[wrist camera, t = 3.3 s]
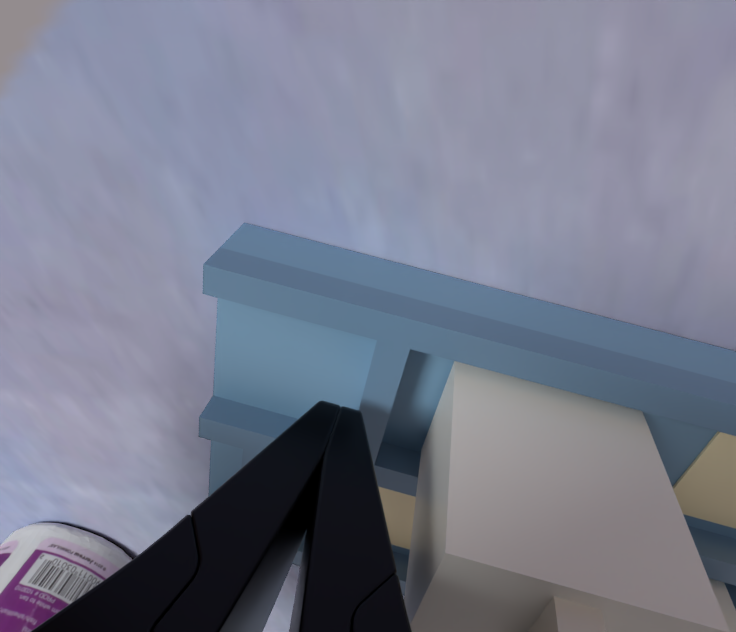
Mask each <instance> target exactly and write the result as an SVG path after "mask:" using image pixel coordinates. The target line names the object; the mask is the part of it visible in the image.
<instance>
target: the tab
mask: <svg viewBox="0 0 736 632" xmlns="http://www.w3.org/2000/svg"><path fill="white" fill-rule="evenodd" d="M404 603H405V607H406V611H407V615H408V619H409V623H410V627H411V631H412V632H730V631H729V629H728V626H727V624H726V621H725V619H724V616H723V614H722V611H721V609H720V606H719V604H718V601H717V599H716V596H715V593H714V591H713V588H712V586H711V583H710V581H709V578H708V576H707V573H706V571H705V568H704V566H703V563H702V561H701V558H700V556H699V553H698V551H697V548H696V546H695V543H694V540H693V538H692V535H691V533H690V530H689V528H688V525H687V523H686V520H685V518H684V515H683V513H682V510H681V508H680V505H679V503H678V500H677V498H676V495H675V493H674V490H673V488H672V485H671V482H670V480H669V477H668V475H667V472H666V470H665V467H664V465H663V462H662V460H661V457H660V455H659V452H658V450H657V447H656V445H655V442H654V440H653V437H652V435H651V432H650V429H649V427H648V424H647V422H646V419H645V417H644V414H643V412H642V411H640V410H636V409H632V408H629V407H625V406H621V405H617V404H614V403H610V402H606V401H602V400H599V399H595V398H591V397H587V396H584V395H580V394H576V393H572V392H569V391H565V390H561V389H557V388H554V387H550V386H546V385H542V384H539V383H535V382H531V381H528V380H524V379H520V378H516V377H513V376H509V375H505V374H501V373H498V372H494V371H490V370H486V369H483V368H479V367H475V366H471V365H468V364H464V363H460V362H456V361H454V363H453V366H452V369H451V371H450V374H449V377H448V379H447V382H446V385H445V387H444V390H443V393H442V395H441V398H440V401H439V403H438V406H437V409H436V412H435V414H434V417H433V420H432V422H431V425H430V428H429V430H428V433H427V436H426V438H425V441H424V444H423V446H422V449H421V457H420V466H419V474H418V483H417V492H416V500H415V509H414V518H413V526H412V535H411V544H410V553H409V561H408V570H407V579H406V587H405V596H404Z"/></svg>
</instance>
